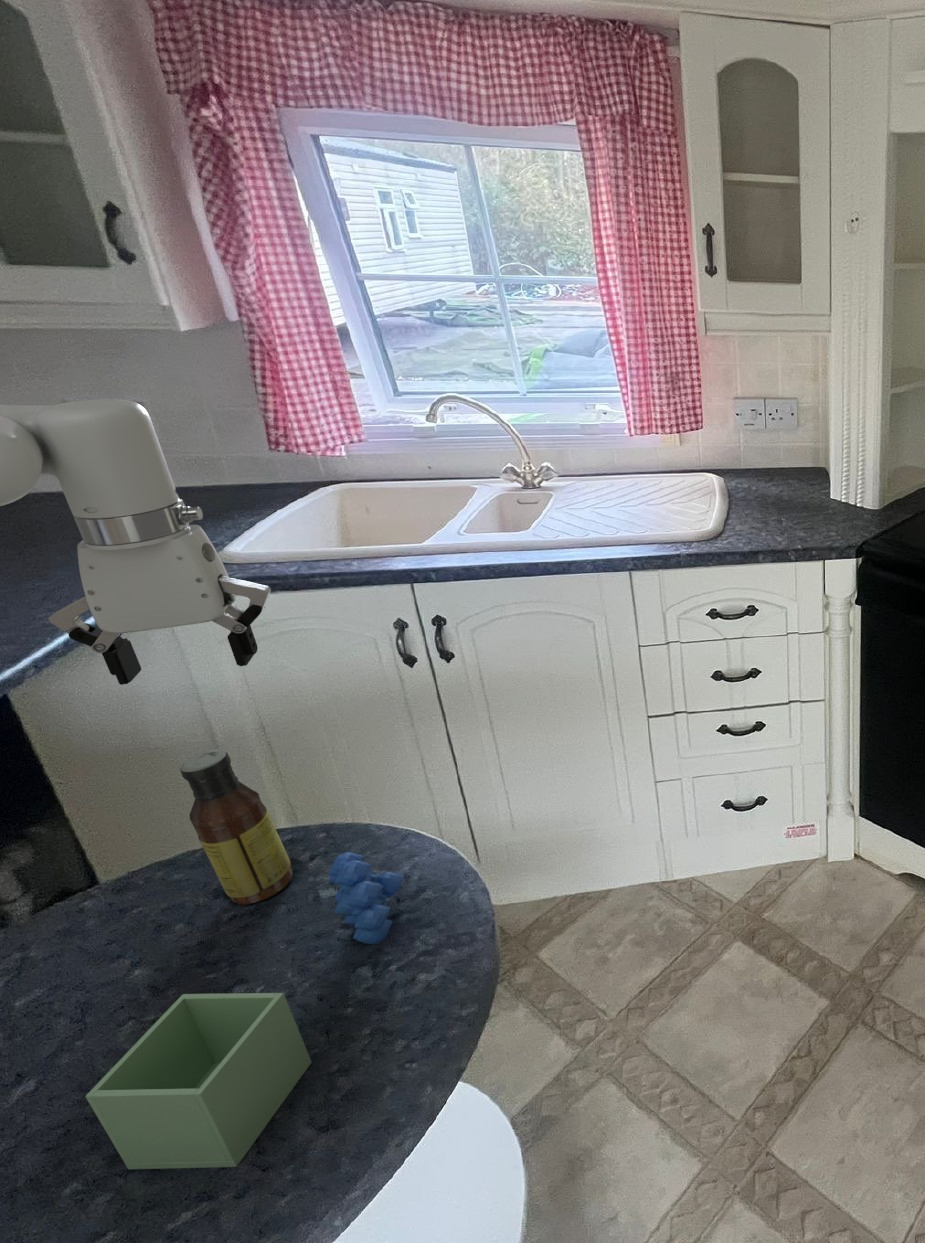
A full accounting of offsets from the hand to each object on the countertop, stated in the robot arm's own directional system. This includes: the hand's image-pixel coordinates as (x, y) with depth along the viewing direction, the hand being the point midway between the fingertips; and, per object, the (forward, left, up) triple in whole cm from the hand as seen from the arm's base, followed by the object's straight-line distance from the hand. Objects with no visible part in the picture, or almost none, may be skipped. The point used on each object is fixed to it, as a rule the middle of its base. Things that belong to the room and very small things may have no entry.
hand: (190, 668), depth 82 cm
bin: (+6, -31, -31) cm, 44 cm away
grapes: (+14, -14, -31) cm, 37 cm away
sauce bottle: (-1, -1, -31) cm, 31 cm away
